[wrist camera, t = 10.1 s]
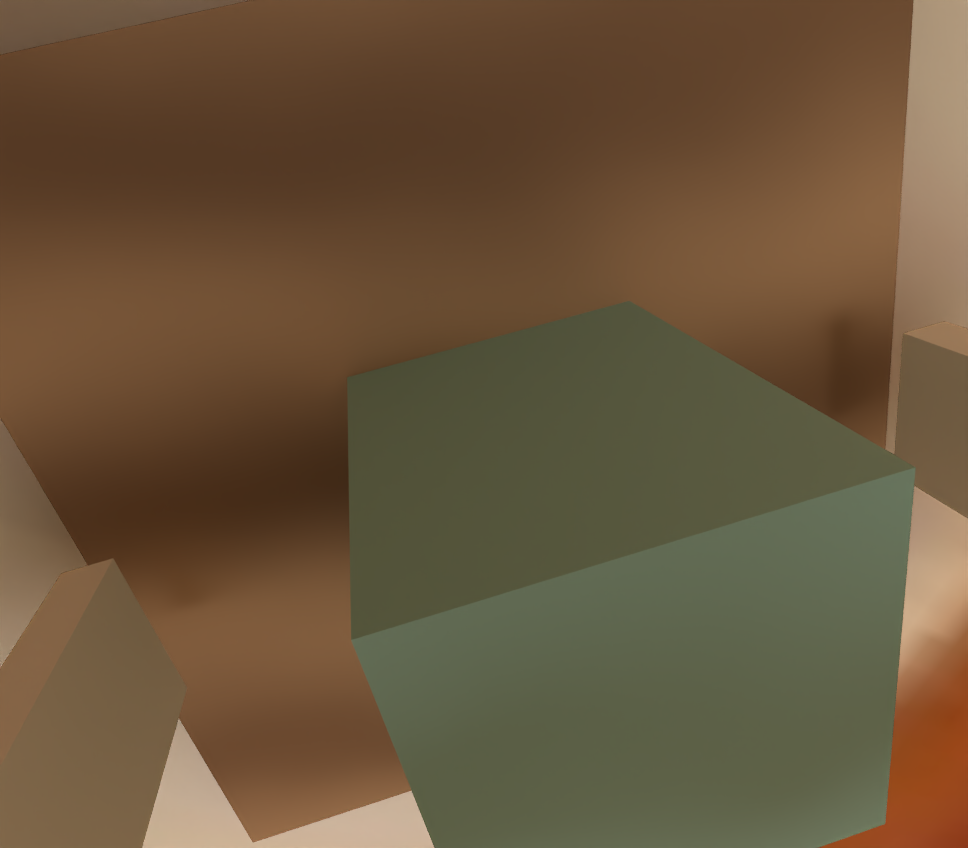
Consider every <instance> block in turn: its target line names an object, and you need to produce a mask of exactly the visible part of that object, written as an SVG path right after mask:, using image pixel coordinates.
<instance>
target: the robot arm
mask: <svg viewBox="0 0 968 848" xmlns="http://www.w3.org/2000/svg"><path fill="white" fill-rule="evenodd" d="M895 456H897V457H899V458H900V459H902V460H904V461H906V462H907V463H909V464H911V465H912V466H914V467H916V469H915V481H914V486H916V487H918V488H919V489H921V490H922V491H924V492H926V493H927V494H929V495H931V496H932V497H934V498H936V499H937V500H939V501H940V502H942V503H944V504H945V505H947V506H949V507H950V508H952V509H953V510H955V511H957V512H958V513H960V514H962V515H963V516H965V517H966V518H968V329H967V328H964V327H961V326H957V325H954V324H951V323H948V322H945V321H944V322H940V323H937V324H933V325H930V326H926V327H923V328H919V329H916V330H912V331H909V332H905V333H903V340H902V354H901V369H900V383H899V397H898V412H897V426H896V440H895ZM186 690H187V687H186V685H185V683H184V681H183V680H182V678H181V676H180V674H179V673H178V671H177V669H176V667H175V666H174V664H173V662H172V660H171V659H170V657H169V655H168V653H167V652H166V650H165V648H164V646H163V645H162V643H161V641H160V639H159V638H158V636H157V634H156V632H155V631H154V629H153V627H152V625H151V624H150V622H149V620H148V618H147V617H146V615H145V613H144V611H143V610H142V608H141V606H140V604H139V603H138V601H137V599H136V597H135V596H134V594H133V592H132V590H131V589H130V587H129V585H128V583H127V582H126V580H125V578H124V576H123V575H122V573H121V571H120V569H119V568H118V566H117V564H116V562H115V561H114V559H109V560H106V561H102V562H99V563H95V564H92V565H88V566H85V567H81V568H78V569H74V570H71V571H67V572H64V573H61V575H60V576H59V578H58V579H57V581H56V583H55V584H54V586H53V587H52V589H51V590H50V592H49V593H48V595H47V597H46V598H45V600H44V601H43V603H42V604H41V606H40V607H39V609H38V611H37V612H36V614H35V615H34V617H33V618H32V620H31V621H30V623H29V624H28V626H27V628H26V629H25V631H24V632H23V634H22V635H21V637H20V638H19V640H18V642H17V643H16V645H15V646H14V648H13V649H12V651H11V652H10V654H9V656H8V657H7V659H6V660H5V662H4V663H3V665H2V666H1V668H0V848H142V846H143V842H144V839H145V835H146V831H147V828H148V824H149V821H150V817H151V814H152V810H153V807H154V803H155V800H156V796H157V793H158V789H159V786H160V782H161V778H162V775H163V771H164V768H165V764H166V761H167V757H168V754H169V750H170V747H171V743H172V740H173V736H174V732H175V729H176V725H177V722H178V718H179V715H180V711H181V708H182V704H183V701H184V697H185V694H186Z"/></svg>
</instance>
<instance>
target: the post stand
mask: <svg viewBox="0 0 968 848" xmlns="http://www.w3.org/2000/svg"><path fill="white" fill-rule="evenodd" d="M912 14H913V0H250V1H246V2H241V3H237V4H232V5H227V6H223V7H218V8H213V9H209V10H204V11H200V12H195V13H190V14H186V15H181V16H177V17H172V18H167V19H163V20H158V21H154V22H149V23H144V24H140V25H135V26H130V27H126V28H121V29H117V30H112V31H107V32H103V33H98V34H94V35H89V36H84V37H80V38H75V39H71V40H66V41H61V42H57V43H52V44H48V45H43V46H38V47H34V48H29V49H24V50H20V51H15V52H11V53H6V54H1V55H0V418H1V420H2V421H3V423H4V425H5V426H6V428H7V430H8V431H9V433H10V435H11V436H12V438H13V440H14V441H15V443H16V445H17V447H18V448H19V450H20V452H21V453H22V455H23V457H24V458H25V460H26V462H27V463H28V465H29V467H30V468H31V470H32V472H33V473H34V475H35V477H36V478H37V480H38V482H39V484H40V485H41V487H42V489H43V490H44V492H45V494H46V495H47V497H48V499H49V500H50V502H51V504H52V505H53V507H54V509H55V510H56V512H57V514H58V515H59V517H60V519H61V520H62V522H63V524H64V526H65V527H66V529H67V531H68V532H69V534H70V536H71V537H72V539H73V541H74V542H75V544H76V546H77V547H78V549H79V551H80V552H81V554H82V556H83V557H84V559H85V561H86V563H87V564H88V565H92V564H95V563H99V562H102V561H106V560H109V559H114V561H115V562H116V564H117V566H118V568H119V569H120V571H121V573H122V575H123V576H124V578H125V580H126V582H127V583H128V585H129V587H130V589H131V590H132V592H133V594H134V596H135V597H136V599H137V601H138V603H139V604H140V606H141V608H142V610H143V611H144V613H145V615H146V617H147V618H148V620H149V622H150V624H151V625H152V627H153V629H154V631H155V632H156V634H157V636H158V638H159V639H160V641H161V643H162V645H163V646H164V648H165V650H166V652H167V653H168V655H169V657H170V659H171V660H172V662H173V664H174V666H175V667H176V669H177V671H178V673H179V674H180V676H181V678H182V680H183V681H184V683H185V685H186V687H187V690H186V694H185V697H184V701H183V704H182V708H181V711H180V715H179V719H180V721H181V722H182V724H183V726H184V727H185V729H186V731H187V732H188V734H189V736H190V737H191V739H192V741H193V742H194V744H195V746H196V747H197V749H198V751H199V752H200V754H201V756H202V758H203V759H204V761H205V763H206V764H207V766H208V768H209V769H210V771H211V773H212V774H213V776H214V778H215V779H216V781H217V783H218V784H219V786H220V788H221V789H222V791H223V793H224V794H225V796H226V798H227V800H228V801H229V803H230V805H231V806H232V808H233V810H234V811H235V813H236V815H237V816H238V818H239V820H240V821H241V823H242V825H243V826H244V828H245V830H246V831H247V833H248V835H249V837H250V838H251V840H252V842H256V841H259V840H262V839H265V838H268V837H271V836H274V835H277V834H280V833H283V832H286V831H289V830H292V829H296V828H299V827H302V826H305V825H308V824H311V823H314V822H317V821H320V820H323V819H326V818H329V817H332V816H335V815H338V814H341V813H344V812H347V811H350V810H353V809H356V808H360V807H363V806H366V805H369V804H372V803H375V802H378V801H381V800H384V799H387V798H390V797H393V796H396V795H399V794H402V793H405V792H408V791H411V788H410V785H409V783H408V780H407V778H406V775H405V773H404V770H403V768H402V765H401V763H400V760H399V758H398V755H397V753H396V750H395V748H394V746H393V743H392V741H391V738H390V736H389V733H388V731H387V728H386V726H385V723H384V721H383V718H382V716H381V713H380V711H379V708H378V706H377V703H376V701H375V698H374V696H373V693H372V691H371V688H370V686H369V683H368V681H367V678H366V676H365V673H364V671H363V668H362V666H361V664H360V661H359V659H358V656H357V654H356V651H355V649H354V646H353V644H352V641H351V601H350V533H349V465H348V398H347V377H350V376H354V375H357V374H361V373H365V372H368V371H372V370H376V369H379V368H383V367H387V366H391V365H394V364H398V363H402V362H405V361H409V360H413V359H416V358H420V357H424V356H427V355H431V354H435V353H438V352H442V351H446V350H450V349H453V348H457V347H461V346H464V345H468V344H472V343H475V342H479V341H483V340H486V339H490V338H494V337H498V336H501V335H505V334H509V333H512V332H516V331H520V330H523V329H527V328H531V327H534V326H538V325H542V324H545V323H549V322H553V321H557V320H560V319H564V318H568V317H571V316H575V315H579V314H582V313H586V312H590V311H593V310H597V309H601V308H605V307H608V306H612V305H616V304H619V303H623V302H627V301H631V302H632V303H634V304H636V305H638V306H639V307H641V308H643V309H644V310H646V311H648V312H650V313H651V314H653V315H655V316H656V317H658V318H660V319H662V320H663V321H665V322H667V323H668V324H670V325H672V326H674V327H675V328H677V329H679V330H680V331H682V332H684V333H686V334H687V335H689V336H691V337H693V338H694V339H696V340H698V341H699V342H701V343H703V344H705V345H706V346H708V347H710V348H711V349H713V350H715V351H717V352H718V353H720V354H722V355H723V356H725V357H727V358H729V359H730V360H732V361H734V362H735V363H737V364H739V365H741V366H742V367H744V368H746V369H748V370H749V371H751V372H753V373H754V374H756V375H758V376H760V377H761V378H763V379H765V380H766V381H768V382H770V383H772V384H773V385H775V386H777V387H778V388H780V389H782V390H784V391H785V392H787V393H789V394H790V395H792V396H794V397H796V398H797V399H799V400H801V401H803V402H804V403H806V404H808V405H809V406H811V407H813V408H815V409H816V410H818V411H820V412H821V413H823V414H825V415H827V416H828V417H830V418H832V419H833V420H835V421H837V422H839V423H840V424H842V425H844V426H845V427H847V428H849V429H851V430H852V431H854V432H856V433H857V434H859V435H861V436H863V437H864V438H866V439H868V440H870V441H871V442H873V443H875V444H876V445H878V446H880V447H882V448H883V449H885V446H886V430H887V414H888V398H889V382H890V366H891V350H892V334H893V318H894V302H895V286H896V270H897V254H898V238H899V222H900V206H901V190H902V174H903V158H904V142H905V126H906V110H907V94H908V78H909V62H910V46H911V30H912Z"/></svg>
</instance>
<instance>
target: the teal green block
mask: <svg viewBox="0 0 968 848" xmlns="http://www.w3.org/2000/svg"><path fill="white" fill-rule="evenodd" d="M347 398H348V465H349V533H350V601H351V641H352V644H353V646H354V649H355V651H356V654H357V656H358V659H359V661H360V664H361V666H362V668H363V671H364V673H365V676H366V678H367V681H368V683H369V686H370V688H371V691H372V693H373V696H374V698H375V701H376V703H377V706H378V708H379V711H380V713H381V716H382V718H383V721H384V723H385V726H386V728H387V731H388V733H389V736H390V738H391V741H392V743H393V746H394V748H395V750H396V753H397V755H398V758H399V760H400V763H401V765H402V768H403V770H404V773H405V775H406V778H407V780H408V783H409V785H410V788H411V790H412V793H413V795H414V798H415V800H416V803H417V805H418V808H419V810H420V813H421V815H422V818H423V820H424V823H425V825H426V827H427V830H428V832H429V835H430V837H431V840H432V842H433V845H434V847H435V848H818V847H821V846H824V845H827V844H830V843H833V842H835V841H838V840H841V839H844V838H847V837H849V836H852V835H855V834H858V833H861V832H863V831H866V830H869V829H872V828H875V827H877V826H880V825H883V824H885V819H886V807H887V796H888V784H889V772H890V761H891V749H892V737H893V726H894V714H895V702H896V691H897V679H898V667H899V656H900V644H901V632H902V621H903V609H904V597H905V586H906V574H907V562H908V551H909V539H910V527H911V516H912V504H913V492H914V481H915V469H916V467H914V466H912V465H911V464H909V463H907V462H906V461H904V460H902V459H900V458H899V457H897V456H895V455H894V454H892V453H890V452H888V451H887V450H885V449H883V448H882V447H880V446H878V445H876V444H875V443H873V442H871V441H870V440H868V439H866V438H864V437H863V436H861V435H859V434H857V433H856V432H854V431H852V430H851V429H849V428H847V427H845V426H844V425H842V424H840V423H839V422H837V421H835V420H833V419H832V418H830V417H828V416H827V415H825V414H823V413H821V412H820V411H818V410H816V409H815V408H813V407H811V406H809V405H808V404H806V403H804V402H803V401H801V400H799V399H797V398H796V397H794V396H792V395H790V394H789V393H787V392H785V391H784V390H782V389H780V388H778V387H777V386H775V385H773V384H772V383H770V382H768V381H766V380H765V379H763V378H761V377H760V376H758V375H756V374H754V373H753V372H751V371H749V370H748V369H746V368H744V367H742V366H741V365H739V364H737V363H735V362H734V361H732V360H730V359H729V358H727V357H725V356H723V355H722V354H720V353H718V352H717V351H715V350H713V349H711V348H710V347H708V346H706V345H705V344H703V343H701V342H699V341H698V340H696V339H694V338H693V337H691V336H689V335H687V334H686V333H684V332H682V331H680V330H679V329H677V328H675V327H674V326H672V325H670V324H668V323H667V322H665V321H663V320H662V319H660V318H658V317H656V316H655V315H653V314H651V313H650V312H648V311H646V310H644V309H643V308H641V307H639V306H638V305H636V304H634V303H632V302H631V301H627V302H623V303H619V304H616V305H612V306H608V307H605V308H601V309H597V310H593V311H590V312H586V313H582V314H579V315H575V316H571V317H568V318H564V319H560V320H557V321H553V322H549V323H545V324H542V325H538V326H534V327H531V328H527V329H523V330H520V331H516V332H512V333H509V334H505V335H501V336H498V337H494V338H490V339H486V340H483V341H479V342H475V343H472V344H468V345H464V346H461V347H457V348H453V349H450V350H446V351H442V352H438V353H435V354H431V355H427V356H424V357H420V358H416V359H413V360H409V361H405V362H402V363H398V364H394V365H391V366H387V367H383V368H379V369H376V370H372V371H368V372H365V373H361V374H357V375H354V376H350V377H347Z"/></svg>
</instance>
